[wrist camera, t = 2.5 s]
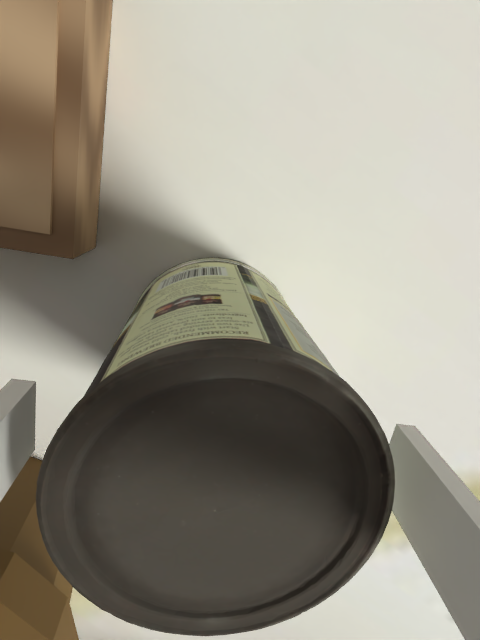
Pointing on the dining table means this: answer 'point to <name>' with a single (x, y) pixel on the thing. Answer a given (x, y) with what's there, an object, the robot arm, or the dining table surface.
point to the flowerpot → (30, 569)
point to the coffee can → (214, 464)
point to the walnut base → (52, 123)
